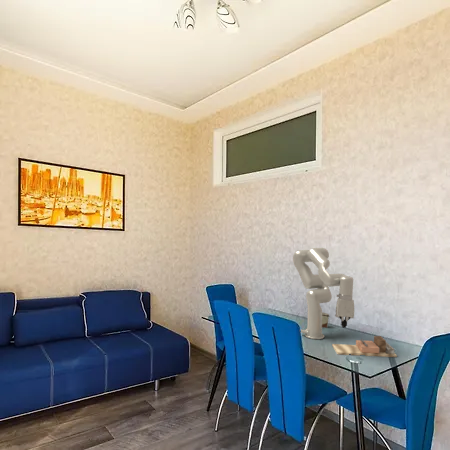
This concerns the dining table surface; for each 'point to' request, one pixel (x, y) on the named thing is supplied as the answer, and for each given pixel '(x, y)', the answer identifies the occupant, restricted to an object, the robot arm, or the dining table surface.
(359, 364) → the dining table surface
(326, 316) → the food container
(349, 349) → the vise
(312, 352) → the dining table surface
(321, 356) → the dining table surface
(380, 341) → the walnut block
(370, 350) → the block
